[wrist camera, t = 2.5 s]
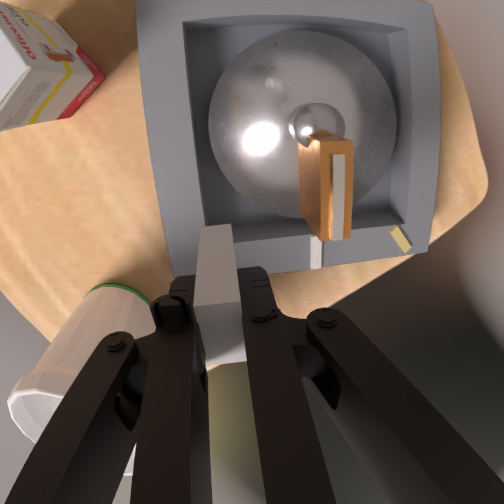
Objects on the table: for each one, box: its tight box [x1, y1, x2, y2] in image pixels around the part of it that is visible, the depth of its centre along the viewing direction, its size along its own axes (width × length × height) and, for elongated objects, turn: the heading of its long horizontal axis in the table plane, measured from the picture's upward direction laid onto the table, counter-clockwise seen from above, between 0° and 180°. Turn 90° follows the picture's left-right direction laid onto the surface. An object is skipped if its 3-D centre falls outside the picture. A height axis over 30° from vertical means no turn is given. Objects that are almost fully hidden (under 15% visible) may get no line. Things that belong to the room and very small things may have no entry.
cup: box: [7, 284, 156, 475], centre depth 24 cm, size 12×12×15 cm
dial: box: [208, 30, 397, 242], centre depth 19 cm, size 14×14×7 cm
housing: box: [135, 0, 441, 279], centre depth 21 cm, size 22×22×5 cm
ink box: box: [0, 1, 105, 131], centre depth 14 cm, size 9×5×12 cm, turn 37°
